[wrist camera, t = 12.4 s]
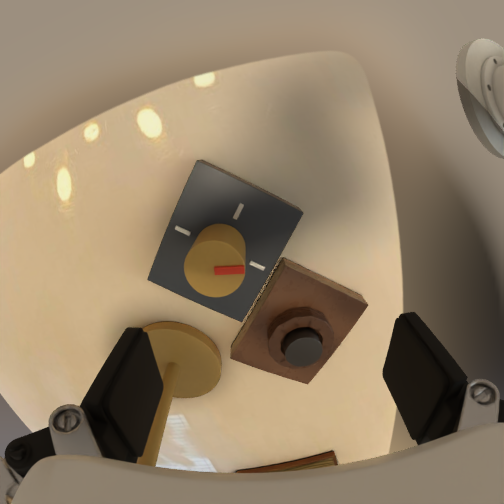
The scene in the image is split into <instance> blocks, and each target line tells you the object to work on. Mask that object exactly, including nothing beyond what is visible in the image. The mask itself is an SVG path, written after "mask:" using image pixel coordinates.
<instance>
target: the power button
mask: <svg viewBox="0 0 504 504" xmlns="http://www.w3.org/2000/svg"><path fill="white" fill-rule="evenodd" d="M283 347H284V352H285V357H286V360H287V361H288V362H289V363H290V364H292V365H294V366H298V367H303V366H308V365H311V364H313V363H315V362H316V361H317V360H318V359H319V358H320V356H321V355H322V351H323V348H322V344H321V342H320V339H319V336H318V334H317V333H316V332H315V331H314V330H313V329H310V328H306V327H301V328H297V329H294V330H292V331H291V332H289V333H288V334H287V335H286V337H285V339H284V341H283Z"/></svg>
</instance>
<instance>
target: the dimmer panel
mask: <svg viewBox="0 0 504 504" xmlns="http://www.w3.org/2000/svg"><path fill="white" fill-rule="evenodd" d="M302 215H303V212H302V211H301V210H300V208H299V207H297V206H295V205H293V204H291V203H289V202H287V201H285V200H283V199H281V198H279V197H278V196H276V195H274V194H272V193H270V192H268V191H266V190H264V189H262V188H260V187H258V186H256V185H254V184H252V183H250V182H248V181H246V180H243V179H241V178H239V177H237V176H235V175H233V174H231V173H229V172H227V171H225V170H223V169H220V168H218V167H216V166H214V165H212V164H210V163H208V162H205V161H203V160H197V161H196V163H195V166H194V168H193V170H192V172H191V174H190V176H189V179H188V181H187V183H186V185H185V187H184V190H183V192H182V194H181V196H180V199H179V201H178V203H177V206H176V208H175V210H174V213H173V215H172V217H171V220H170V222H169V225H168V227H167V229H166V232H165V234H164V237H163V239H162V242H161V244H160V247H159V250H158V252H157V255H156V257H155V260H154V263H153V265H152V268H151V271H150V273H149V276H148V280H149V281H151V282H153V283H155V284H157V285H159V286H162V287H164V288H166V289H168V290H170V291H172V292H174V293H176V294H179V295H181V296H183V297H185V298H187V299H190V300H192V301H194V302H196V303H198V304H201V305H203V306H205V307H208V308H210V309H212V310H214V311H217V312H219V313H221V314H224V315H226V316H228V317H231V318H233V319H236V320H238V321H240V322H242V321H243V319H244V318H245V316H246V314H247V312H248V311H249V309H250V307H251V306H252V304H253V302H254V300H255V299H256V297H257V295H258V293H259V292H260V290H261V288H262V286H263V285H264V283H265V281H266V279H267V278H268V276H269V274H270V272H271V271H272V269H273V267H274V265H275V264H276V262H277V260H278V258H279V257H280V255H281V253H282V251H283V249H284V248H285V246H286V244H287V242H288V240H289V239H290V237H291V235H292V233H293V231H294V230H295V228H296V226H297V224H298V222H299V221H300V219H301V217H302ZM213 224H226V225H229V226H232V227H233V228H235V229H236V230H237V231H238V232H239V233H240V234H241V235H242V237H243V239H244V241H245V246H246V255H245V276H244V279H243V282H242V283H241V285H240V286H239V287H238V289H236V290H235V291H234V292H233V293H231V294H229V295H226V296H223V297H209V296H205V295H203V294H201V293H199V292H197V291H196V290H195V289H194V288H193V287H192V286H191V285H190V284H189V282H188V281H187V279H186V276H185V272H184V262H185V258H186V256H187V254H188V252H189V251H190V249H191V247H192V245H193V244H194V242H195V240H196V239H197V237H198V235H199V234H200V232H201V231H202V230H203V229H205V228H206V227H208V226H210V225H213Z"/></svg>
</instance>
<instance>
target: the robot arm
mask: <svg viewBox="0 0 504 504" xmlns="http://www.w3.org/2000/svg"><path fill="white" fill-rule="evenodd" d="M481 87H482V93H483V97H484V100H485V104H486V106H487V109H488V112H489V114H490V116H491V118H492V120H493V122H494V124H495V125H496V127H497V128H498V129H499V131H500V132H501V133H502V134H503V135H504V58H502V57H499V56H492V57H489V58H487V59H486V60H485V61H484V63H483V65H482V69H481ZM383 378H384V380H385V382H386V384H387V387H388V389H389V391H390V393H391V395H392V397H393V399H394V401H395V403H396V405H397V408H398V410H399V412H400V414H401V416H402V418H403V420H404V423H405V425H406V427H407V430H408V432H409V434H410V436H411V438H412V439H413V440H416V442H417V444H418V446H415V447H412V448H408V449H405V450H401V451H398V452H394V453H391V454H387V455H383V456H379V457H375V458H371V459H367V460H362V461H357V462H352V463H347V464H341V465H336V466H329V467H323V468H315V469H307V470H298V471H286V472H270V473H213V472H197V471H186V470H177V469H168V468H161V467H153V466H147V465H141V464H136V463H137V460H138V457H142V456H143V453H144V450H145V446H146V443H147V440H148V437H149V433H150V430H151V427H152V424H153V421H154V417H155V414H156V411H157V408H158V405H159V402H160V399H161V396H162V393H163V388H164V385H163V381H162V378H161V375H160V372H159V369H158V366H157V362H156V359H155V356H154V353H153V349H152V346H151V343H150V339H149V336H148V333H147V332H144V331H143V329H142V328H132V327H128V328H126V329H125V331H124V333H123V334H122V336H121V337H120V339H119V340H118V342H117V344H116V345H115V347H114V348H113V350H112V352H111V353H110V355H109V357H108V358H107V360H106V362H105V363H104V365H103V366H102V368H101V370H100V371H99V373H98V375H97V377H96V378H95V380H94V382H93V383H92V385H91V387H90V389H89V390H88V392H87V394H86V396H85V397H84V399H83V401H82V403H81V405H80V407H79V406H77V405H74V404H67V405H63V406H60V407H58V408H57V409H56V410H54V411H53V413H52V414H51V415H50V418H49V427H47V428H44V429H42V430H39V431H36V432H34V433H31V434H29V435H26V436H23V437H20V438H17V439H15V440H13V441H12V442H10V443H9V445H8V446H7V448H6V451H5V458H4V459H3V458H2V457H1V456H0V504H504V400H501V399H500V396H499V391H498V389H497V387H496V386H495V385H494V384H493V383H491V382H490V381H487V380H484V379H477V380H473V381H472V382H470V383H468V382H467V381H466V380H467V376H466V375H465V373H464V372H463V371H462V369H461V368H460V367H459V366H458V364H457V363H456V361H455V360H454V359H453V358H452V356H451V355H450V354H449V353H448V351H447V350H446V349H445V347H444V346H443V345H442V344H441V343H440V341H439V340H438V339H437V338H436V336H435V335H434V334H433V333H432V332H431V330H430V329H429V328H428V327H427V326H426V324H425V323H424V322H423V321H422V320H421V319H420V317H419V316H418V315H417V314H416V313H415V312H410V313H403V314H400V316H399V318H397V319H396V320H395V324H394V328H393V333H392V337H391V341H390V345H389V349H388V353H387V357H386V360H385V364H384V367H383Z"/></svg>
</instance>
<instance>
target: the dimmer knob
mask: <svg viewBox="0 0 504 504" xmlns="http://www.w3.org/2000/svg"><path fill="white" fill-rule="evenodd" d="M245 255H246V246H245V241H244V239H243V237H242V235H241V234H240V233H239V232H238V231H237V230H236V229H235V228H233V227H232V226H229V225H226V224H213V225H210V226H208V227H206V228H205V229H203V230H202V231H201V232H200V234H199V235H198V237H197V239H196V240H195V242H194V244H193V245H192V247H191V249H190V251H189V252H188V254H187V256H186V258H185V262H184V272H185V276H186V279H187V281H188V282H189V284H190V285H191V286H192V287H193V288H194V289H195V290H196V291H197V292H199V293H201V294H203V295H205V296H209V297H223V296H226V295H229V294H231V293H233V292H234V291H235V290H236V289H238V287H239V286H240V285H241V283H242V282H243V279H244V276H245Z"/></svg>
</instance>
